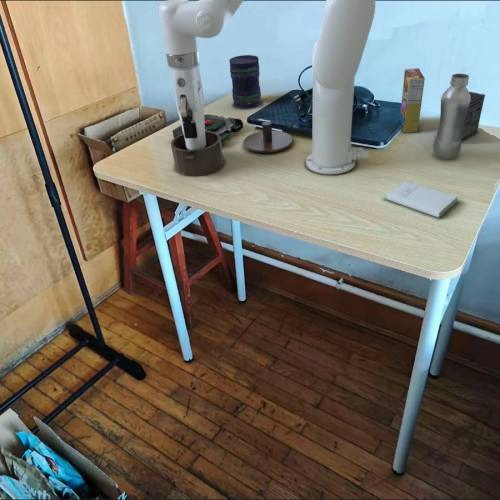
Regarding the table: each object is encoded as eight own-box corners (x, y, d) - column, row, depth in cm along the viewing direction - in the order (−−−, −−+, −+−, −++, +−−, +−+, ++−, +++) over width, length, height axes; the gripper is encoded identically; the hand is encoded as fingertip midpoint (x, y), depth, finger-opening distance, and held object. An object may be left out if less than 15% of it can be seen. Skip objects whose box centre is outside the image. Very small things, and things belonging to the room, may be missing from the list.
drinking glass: (205, 153, 117) (197, 94, 108) (180, 152, 118) (170, 94, 109) (212, 142, 122) (204, 85, 113) (188, 141, 123) (179, 85, 115)
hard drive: (438, 219, 94) (385, 199, 102) (456, 202, 99) (404, 185, 106) (439, 212, 93) (386, 193, 101) (458, 196, 98) (405, 179, 105)
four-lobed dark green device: (217, 151, 129) (215, 136, 126) (167, 142, 137) (164, 127, 134) (248, 127, 141) (247, 113, 138) (201, 120, 149) (199, 106, 146)
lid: (293, 133, 135) (292, 113, 131) (291, 154, 124) (291, 132, 120) (246, 134, 137) (244, 114, 133) (240, 155, 126) (238, 134, 122)
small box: (456, 126, 130) (464, 89, 124) (478, 132, 126) (487, 94, 120) (434, 137, 126) (441, 99, 119) (456, 144, 121) (464, 105, 115)
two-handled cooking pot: (227, 149, 130) (225, 125, 125) (217, 180, 115) (214, 155, 111) (183, 150, 131) (179, 127, 127) (167, 181, 117) (162, 156, 112)
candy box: (398, 121, 137) (404, 68, 127) (413, 120, 136) (420, 67, 127) (402, 132, 130) (409, 78, 120) (417, 132, 129) (426, 77, 120)
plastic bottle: (450, 164, 113) (466, 82, 101) (425, 156, 117) (439, 76, 105) (464, 155, 116) (482, 75, 104) (440, 148, 120) (454, 70, 108)
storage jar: (267, 104, 157) (264, 58, 148) (242, 111, 153) (238, 65, 144) (251, 97, 164) (248, 53, 155) (228, 103, 160) (223, 59, 151)
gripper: (191, 69, 99) (202, 146, 110) (205, 49, 113) (214, 119, 124) (158, 71, 100) (172, 146, 111) (176, 50, 114) (187, 120, 125)
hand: (194, 131), depth 117 cm, fingers closed on drinking glass, 6 cm apart
